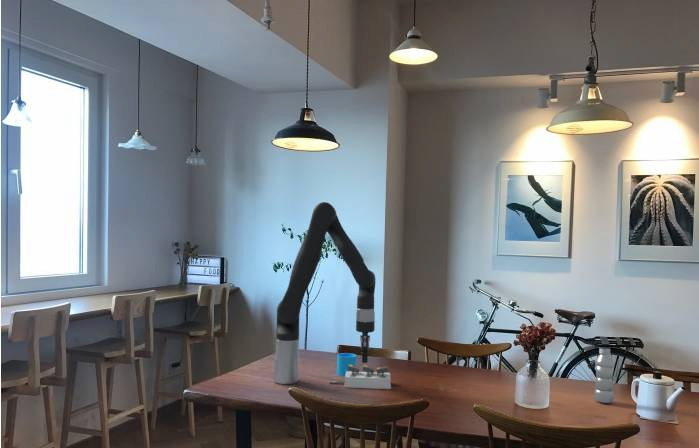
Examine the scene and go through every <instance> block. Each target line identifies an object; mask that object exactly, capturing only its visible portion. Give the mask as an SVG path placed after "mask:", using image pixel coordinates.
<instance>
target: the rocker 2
mask: <svg viewBox="0 0 699 448" xmlns="http://www.w3.org/2000/svg"><path fill="white" fill-rule="evenodd" d="M361 372H369V373H372V374H374V372H375V367H372V366H368V365H366V364H363V366H362V371H361Z"/></svg>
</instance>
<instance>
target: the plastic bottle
mask: <svg viewBox="0 0 699 448" xmlns="http://www.w3.org/2000/svg"><path fill="white" fill-rule="evenodd" d="M598 349H599V350H598V353H599V355H598V356H597V357H596V359H595V361H594V365H595V377H596V378H595V387H594V393H593V396H594V397H593V398H594V400H596V402H599V403H601V404H611V403H613V402H614V399H615V394H614V386H613V375H614V371H615V370H614V369H615V361H614V359H613V358H612V357H611V348H608V347H599V348H598Z"/></svg>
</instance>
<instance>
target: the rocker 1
mask: <svg viewBox="0 0 699 448" xmlns="http://www.w3.org/2000/svg"><path fill="white" fill-rule="evenodd" d="M348 370H349V371H352V372H356V373H359V372H360V370H361V368H360V367H359V366H357V365H356V366H353V365H350V364H349V366H348Z"/></svg>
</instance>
